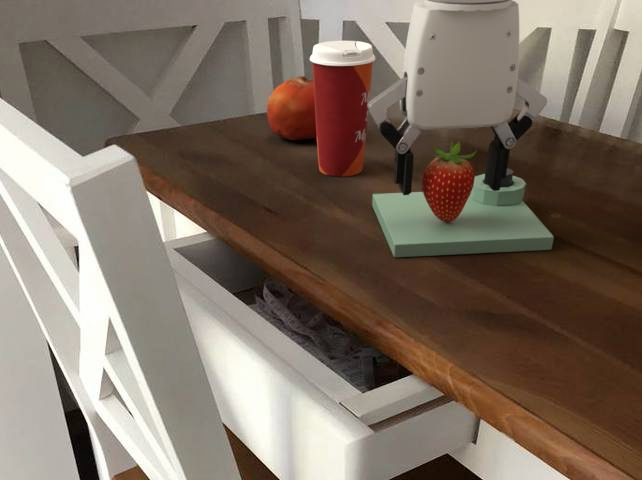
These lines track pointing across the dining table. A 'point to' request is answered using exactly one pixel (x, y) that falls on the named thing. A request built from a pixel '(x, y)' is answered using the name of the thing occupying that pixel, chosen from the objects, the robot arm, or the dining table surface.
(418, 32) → the robot arm
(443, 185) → the fruit
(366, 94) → the paper cup
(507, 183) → the button
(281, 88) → the tomato
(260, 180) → the dining table surface
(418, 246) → the scale
